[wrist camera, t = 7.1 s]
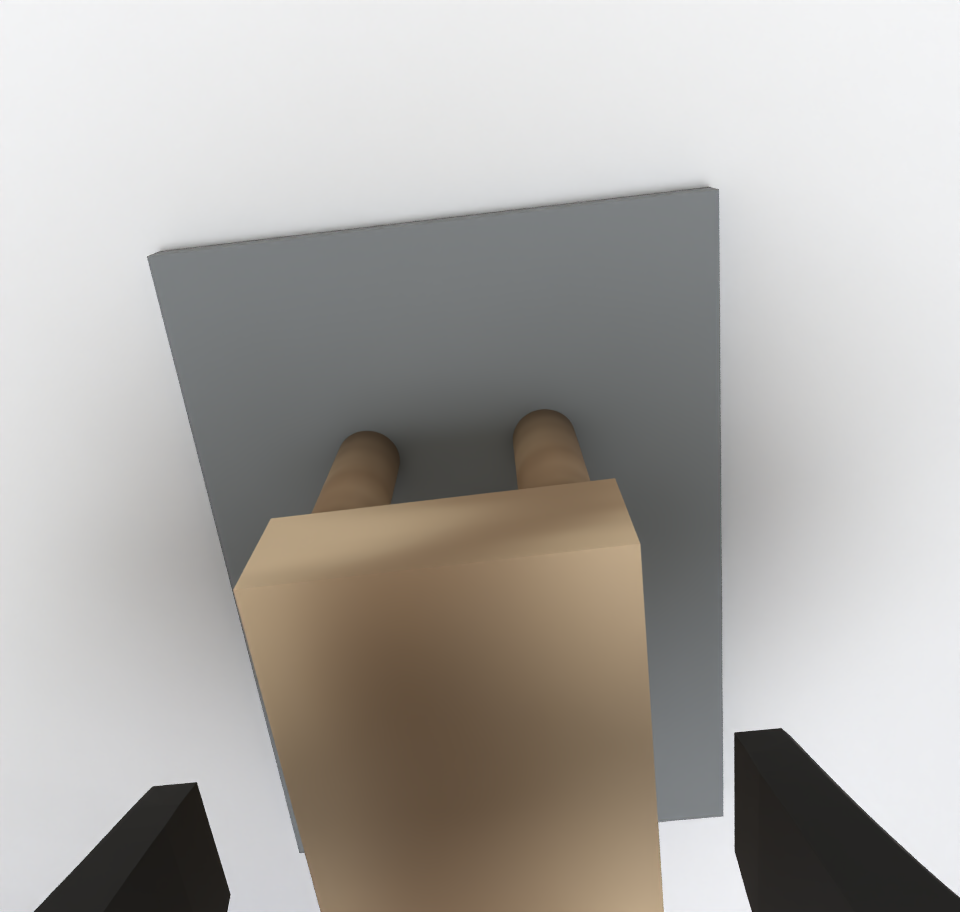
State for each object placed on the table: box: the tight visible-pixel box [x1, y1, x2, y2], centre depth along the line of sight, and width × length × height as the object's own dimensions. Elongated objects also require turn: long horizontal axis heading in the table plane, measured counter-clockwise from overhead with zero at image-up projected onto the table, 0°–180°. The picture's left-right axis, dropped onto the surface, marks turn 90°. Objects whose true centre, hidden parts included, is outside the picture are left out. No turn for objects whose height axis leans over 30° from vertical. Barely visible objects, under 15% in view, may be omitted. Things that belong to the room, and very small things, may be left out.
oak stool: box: [233, 409, 664, 912], centre depth 14 cm, size 5×7×6 cm
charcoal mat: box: [147, 187, 723, 853], centre depth 17 cm, size 14×10×1 cm
